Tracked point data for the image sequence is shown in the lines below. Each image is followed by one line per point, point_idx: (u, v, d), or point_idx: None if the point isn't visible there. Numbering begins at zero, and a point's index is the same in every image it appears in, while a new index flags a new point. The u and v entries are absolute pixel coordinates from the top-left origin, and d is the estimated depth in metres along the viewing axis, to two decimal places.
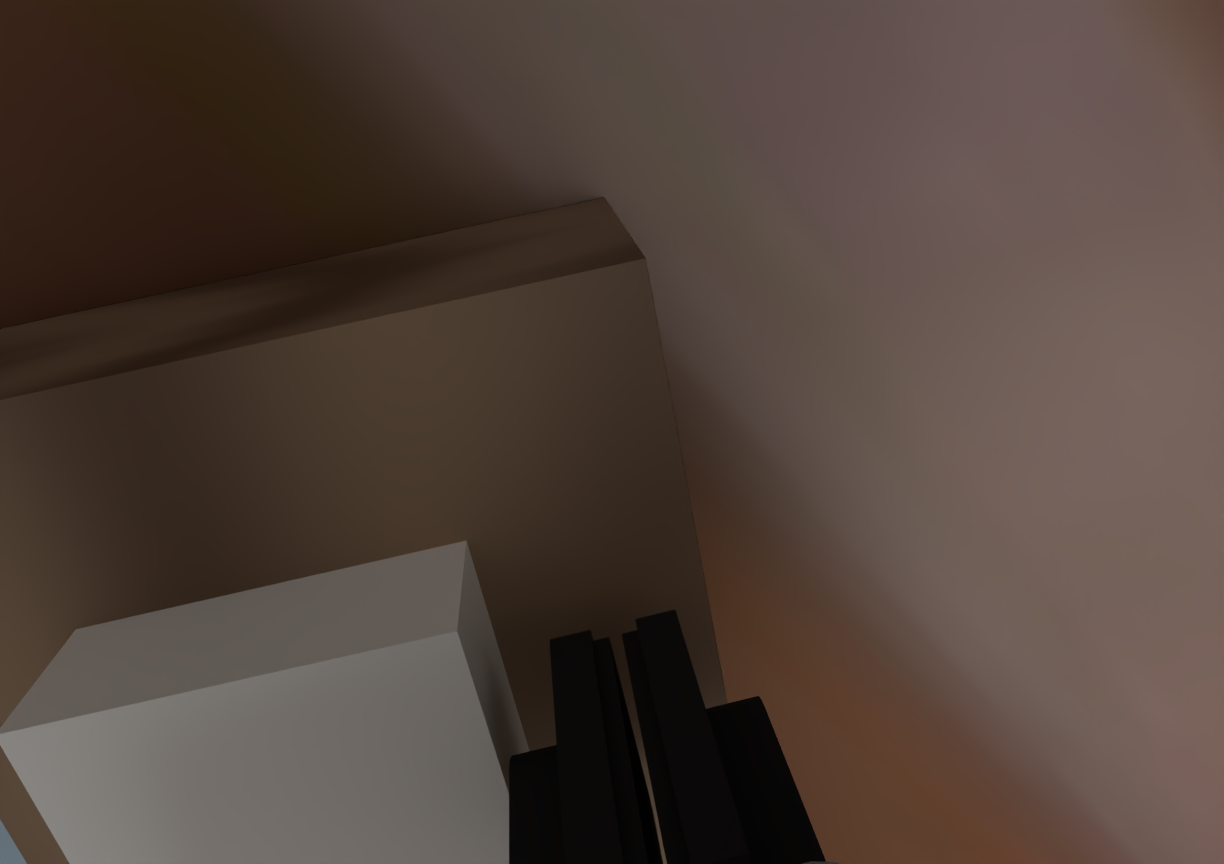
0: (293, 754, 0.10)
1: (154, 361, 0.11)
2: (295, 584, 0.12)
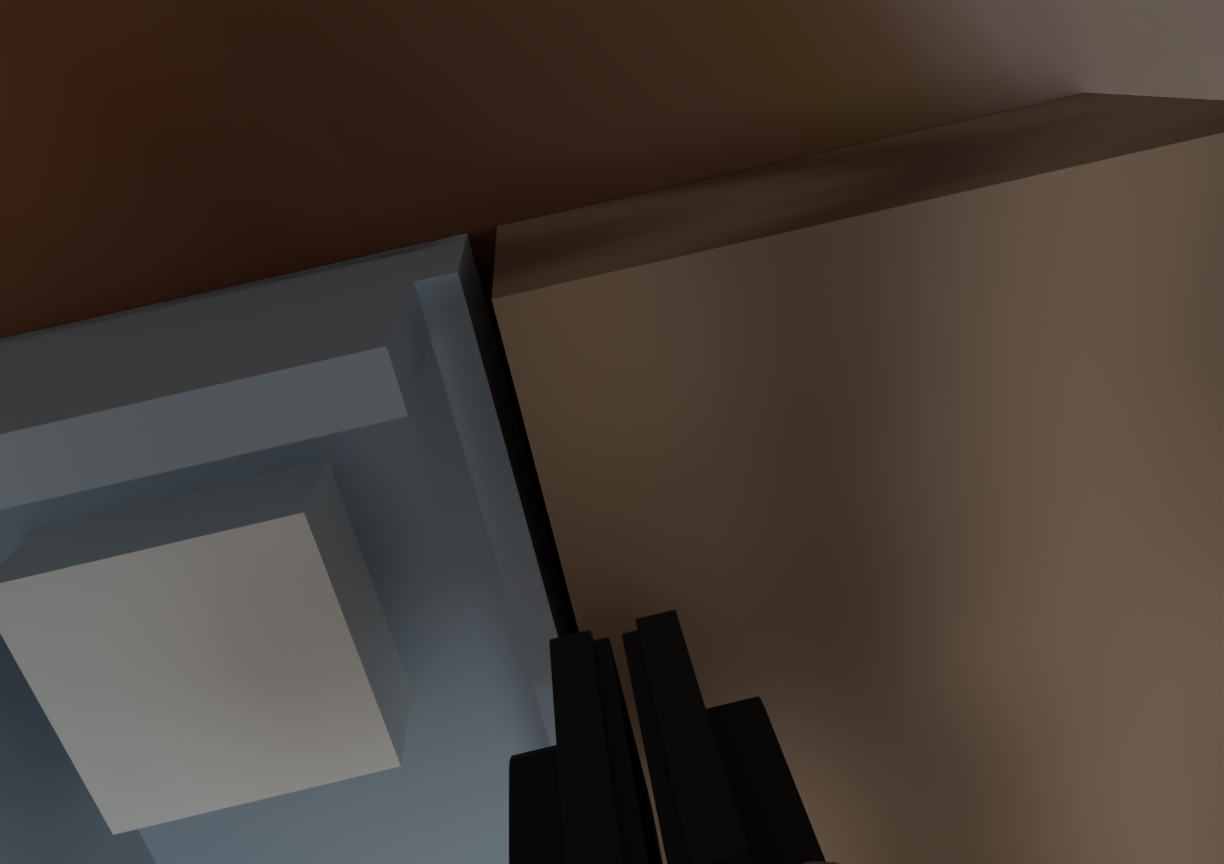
0: None
1: (840, 215, 0.11)
2: (122, 549, 0.14)
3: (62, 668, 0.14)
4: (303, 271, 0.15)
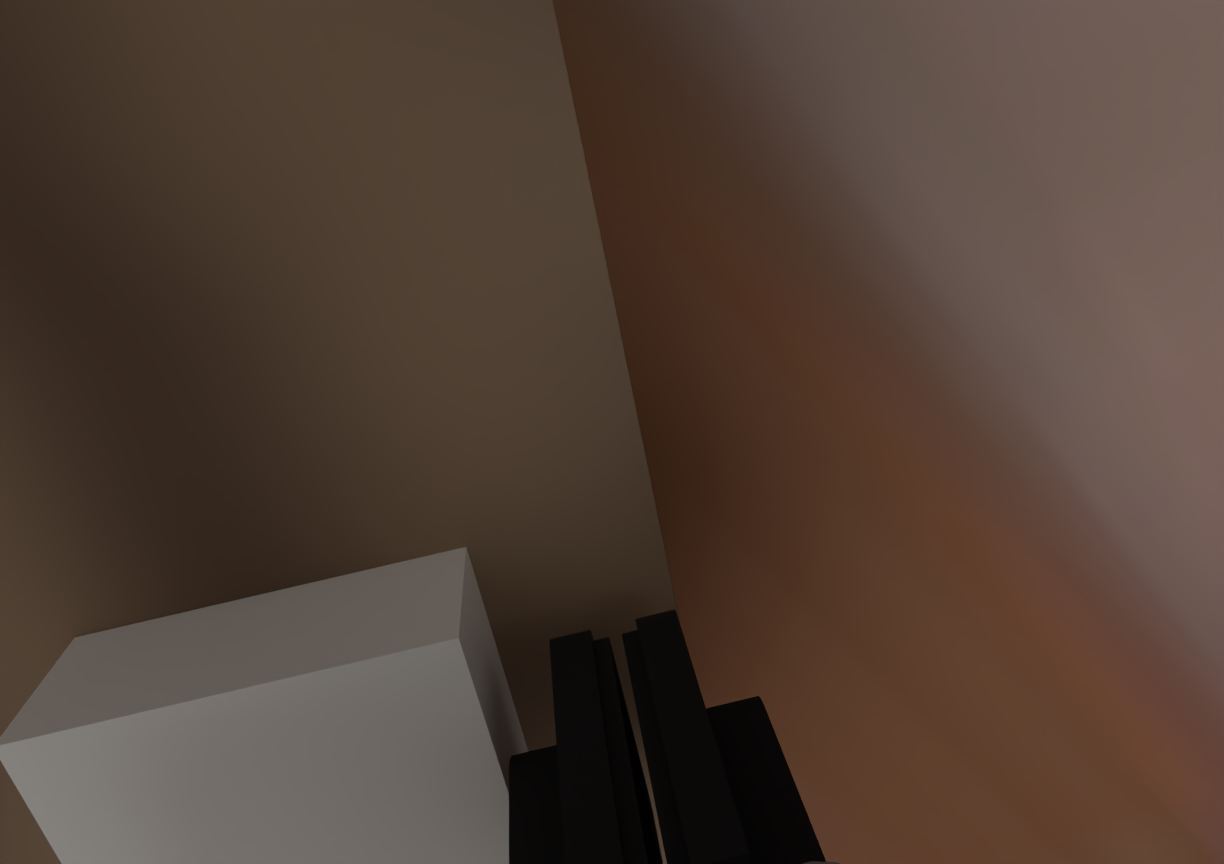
0: None
1: None
2: None
3: None
4: None
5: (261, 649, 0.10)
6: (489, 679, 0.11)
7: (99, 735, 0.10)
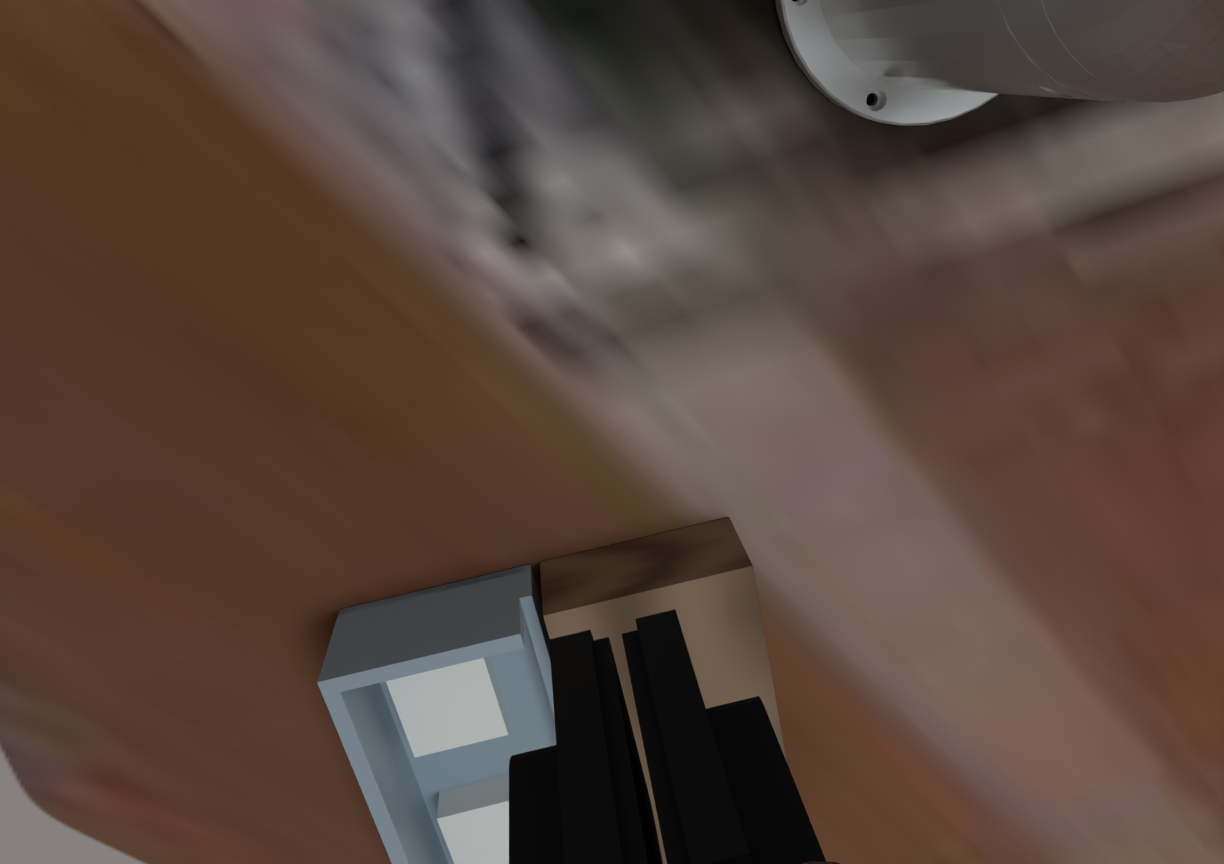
0: None
1: (630, 591, 0.43)
2: None
3: (407, 703, 0.47)
4: (478, 577, 0.47)
5: (479, 790, 0.51)
6: None
7: (508, 776, 0.52)
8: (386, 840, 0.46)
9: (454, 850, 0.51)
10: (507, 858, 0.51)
